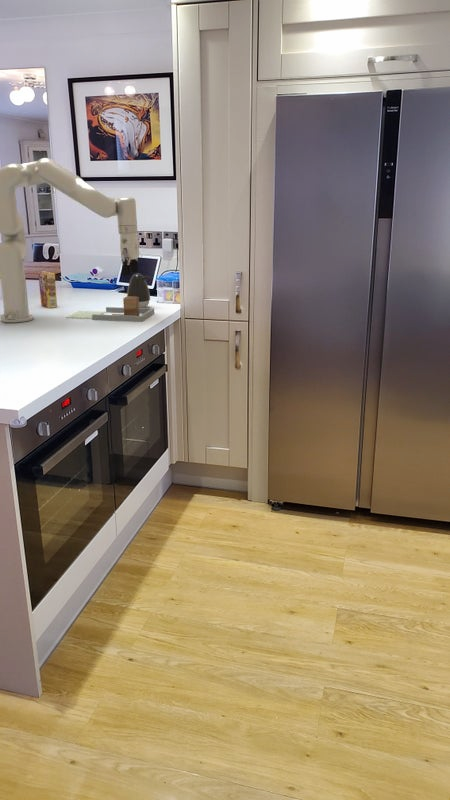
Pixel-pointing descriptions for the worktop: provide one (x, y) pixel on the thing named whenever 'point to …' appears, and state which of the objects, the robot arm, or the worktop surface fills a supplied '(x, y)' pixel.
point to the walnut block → (130, 306)
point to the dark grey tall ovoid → (139, 289)
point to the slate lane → (146, 311)
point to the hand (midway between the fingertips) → (130, 273)
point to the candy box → (47, 289)
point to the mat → (85, 314)
